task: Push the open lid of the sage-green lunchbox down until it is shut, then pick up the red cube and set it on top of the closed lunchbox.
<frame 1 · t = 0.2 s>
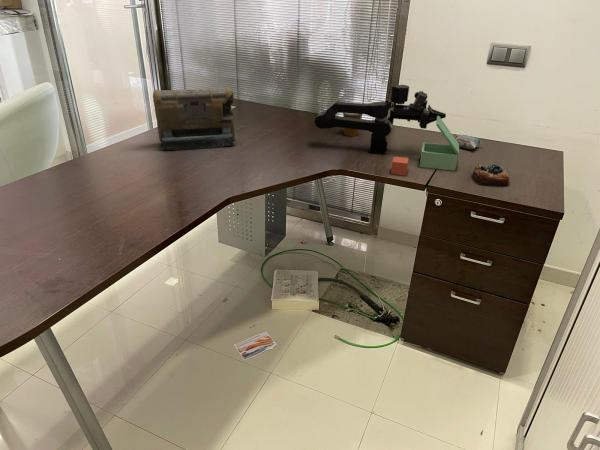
hand: (445, 115, 180), 17 cm above the table, tool horizontal, fingers closed
packaged food: (464, 147, 198), on the table
red cube: (399, 172, 174), on the table
pastry: (489, 180, 168), on the table
lunchbox lid: (447, 134, 175), point 12 cm above the table, hinge at 48.3°, touching gripper
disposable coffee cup: (351, 134, 213), on the table
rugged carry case: (198, 145, 198), on the table
lunchbox: (437, 163, 182), on the table
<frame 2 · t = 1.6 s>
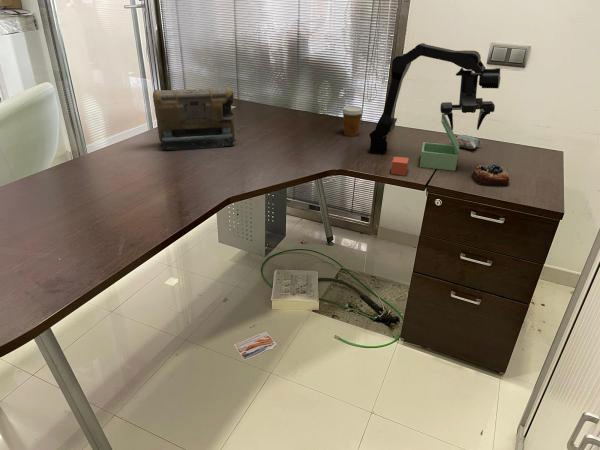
hand: (464, 129, 173), 15 cm above the table, tool pointing down, fingers open, 9 cm apart
lunchbox lid: (450, 133, 175), point 13 cm above the table, hinge at 56.9°
everything else where it was.
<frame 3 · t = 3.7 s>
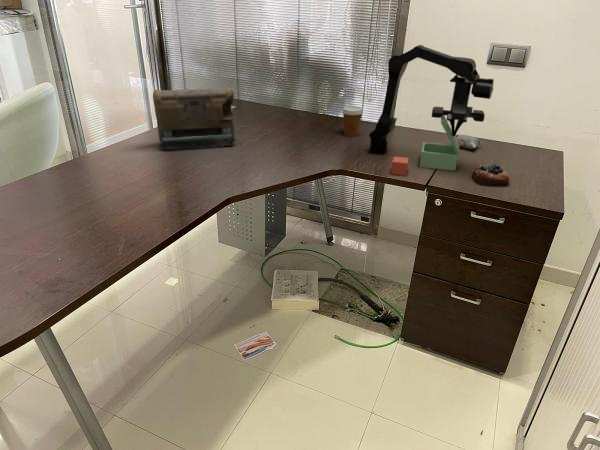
hand: (453, 135, 175), 12 cm above the table, tool pointing down, fingers closed
lunchbox lid: (450, 133, 175), point 13 cm above the table, hinge at 55.8°, touching gripper
everything else where it was.
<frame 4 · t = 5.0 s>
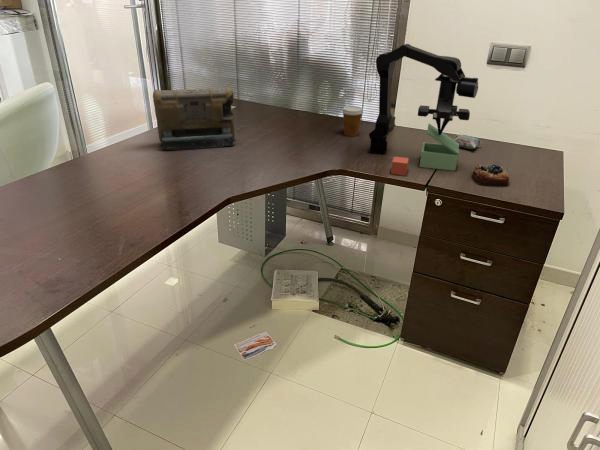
hand: (439, 134, 176), 12 cm above the table, tool pointing down, fingers closed
lunchbox lid: (443, 138, 176), point 10 cm above the table, hinge at 29.8°
everything else where it was.
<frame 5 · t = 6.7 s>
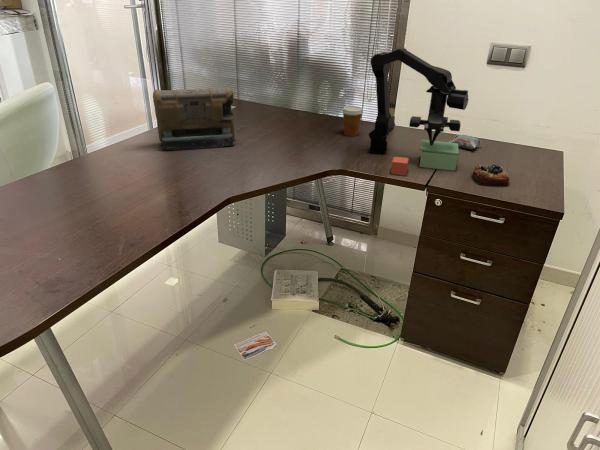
hand: (431, 144, 179), 7 cm above the table, tool pointing down, fingers closed, pressing on lunchbox lid
lunchbox lid: (439, 146, 178), point 7 cm above the table, hinge at 1.6°, touching gripper
everything else where it was.
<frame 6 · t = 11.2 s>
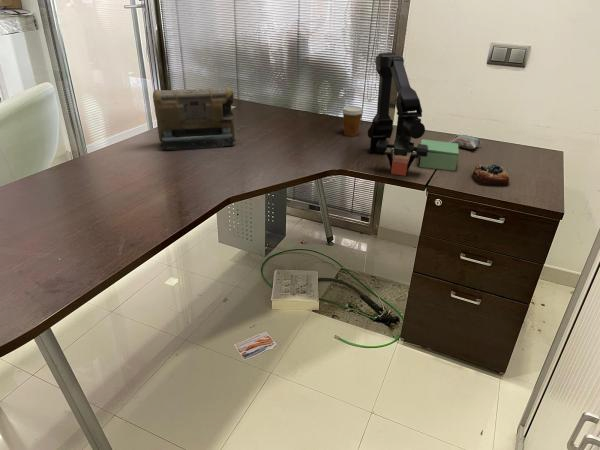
hand: (399, 169, 173), 1 cm above the table, tool pointing down, fingers closed on red cube, 5 cm apart
red cube: (399, 172, 174), on the table, touching gripper
lunchbox lid: (439, 146, 178), point 7 cm above the table, hinge at 1.5°
everything else where it was.
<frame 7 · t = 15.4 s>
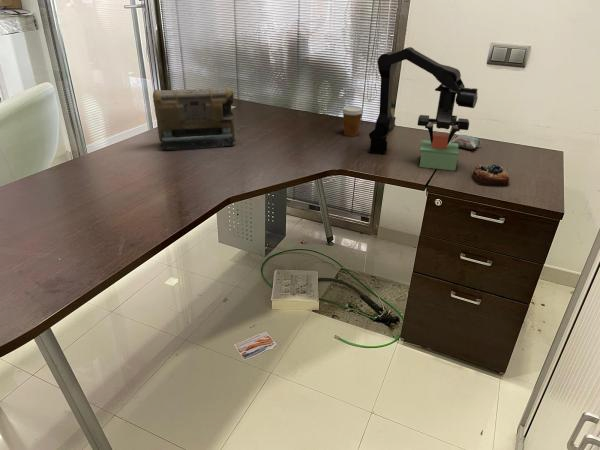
hand: (439, 143, 178), 8 cm above the table, tool pointing down, fingers closed on red cube, 6 cm apart
red cube: (439, 146, 178), point 7 cm above the table, touching gripper, lunchbox lid
lunchbox lid: (439, 147, 178), point 7 cm above the table, hinge at 0.3°, touching red cube
everything else where it was.
when the fingers open (8 cm above the table, at t = 15.5 s): red cube stays where it is, resting on lunchbox lid.
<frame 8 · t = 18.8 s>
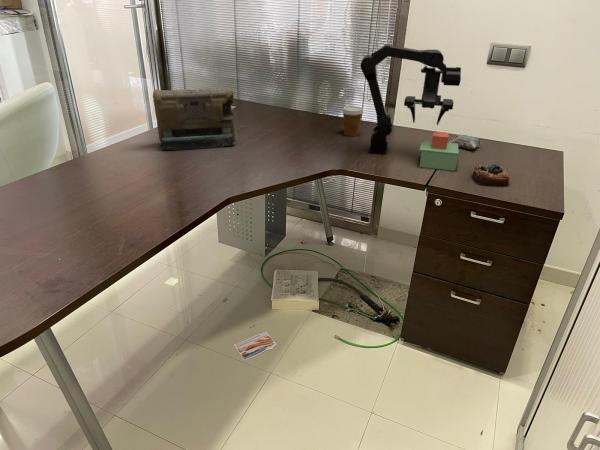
hand: (425, 123, 184), 13 cm above the table, tool pointing down, fingers open, 9 cm apart
red cube: (438, 146, 178), point 7 cm above the table, touching lunchbox lid
lunchbox lid: (439, 147, 178), point 7 cm above the table, hinge at -0.2°, touching lunchbox, red cube
everything else where it was.
at the end: lunchbox lid at +0° (first picture: +48°); red cube inside the target area on the lunchbox (0.5 cm from its centre), point 7.1 cm above the lunchbox's base; red cube tilted 0° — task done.
